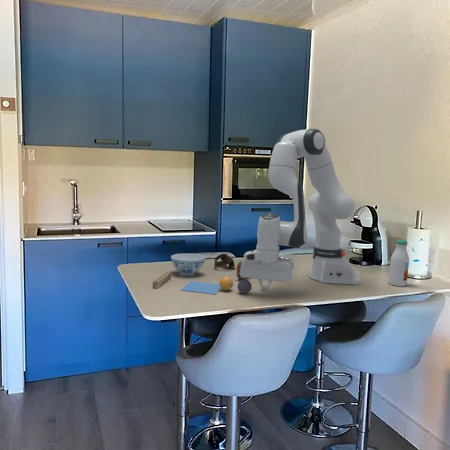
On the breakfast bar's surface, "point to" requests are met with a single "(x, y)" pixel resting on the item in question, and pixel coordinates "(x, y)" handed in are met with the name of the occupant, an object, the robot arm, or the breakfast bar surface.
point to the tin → (239, 271)
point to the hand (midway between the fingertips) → (264, 290)
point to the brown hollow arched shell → (224, 261)
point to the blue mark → (201, 287)
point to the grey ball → (244, 286)
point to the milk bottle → (399, 265)
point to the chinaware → (187, 263)
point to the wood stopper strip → (161, 280)
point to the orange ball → (226, 283)
